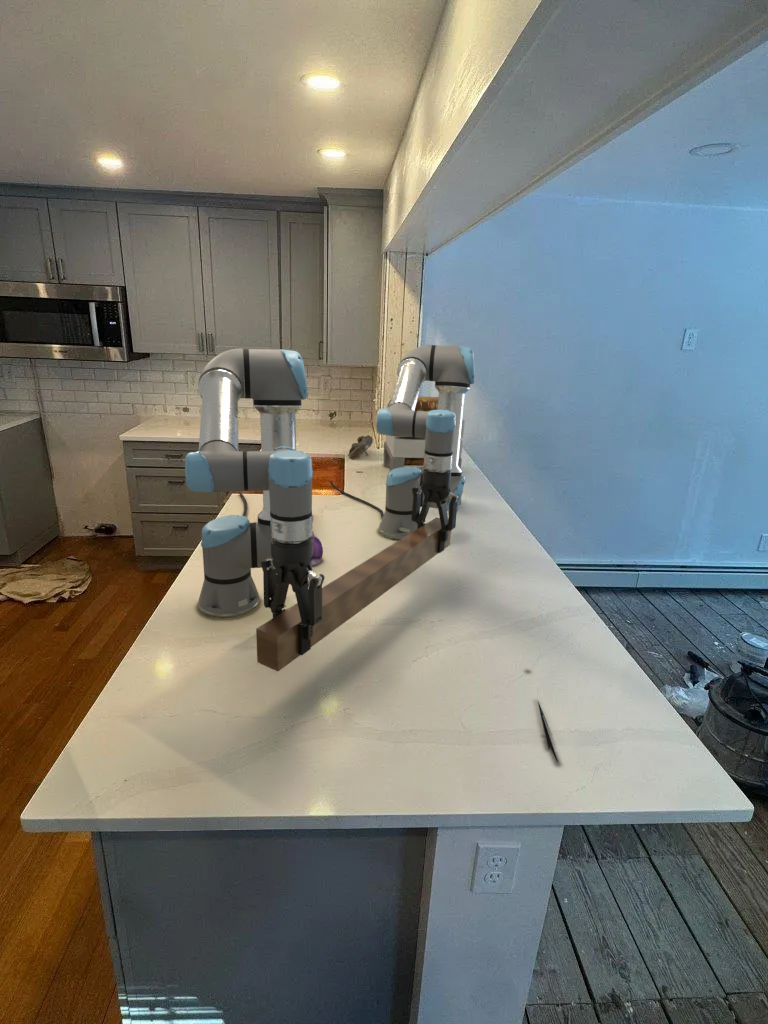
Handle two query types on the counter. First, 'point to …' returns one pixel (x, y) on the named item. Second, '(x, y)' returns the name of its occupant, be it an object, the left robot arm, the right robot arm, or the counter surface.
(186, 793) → the counter surface
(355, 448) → the fossil
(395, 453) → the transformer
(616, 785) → the counter surface
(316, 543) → the figurine
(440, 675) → the counter surface
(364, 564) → the bar
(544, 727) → the feather
